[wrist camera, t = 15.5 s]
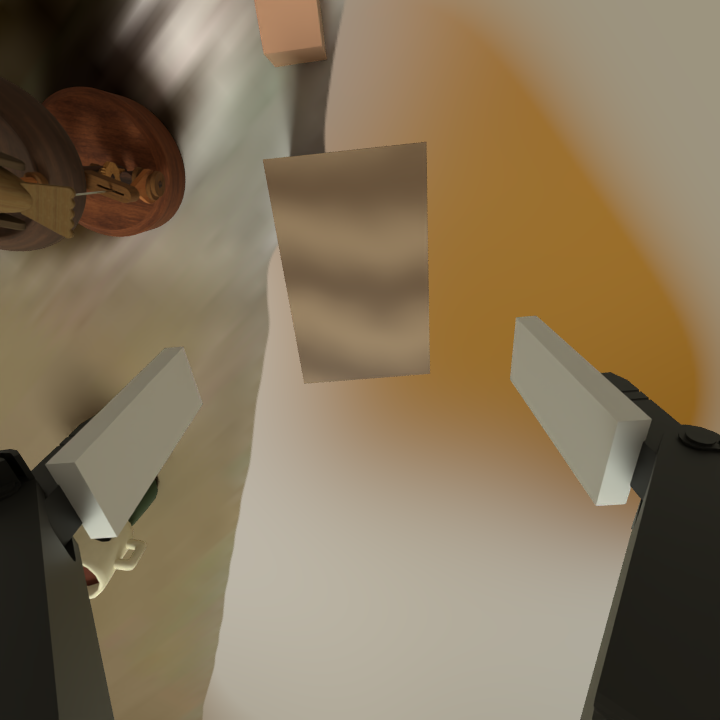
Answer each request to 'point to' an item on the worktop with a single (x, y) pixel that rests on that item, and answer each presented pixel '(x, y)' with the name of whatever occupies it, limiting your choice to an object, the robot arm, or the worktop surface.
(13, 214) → the music box
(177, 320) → the worktop surface
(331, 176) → the brown wooden block
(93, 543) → the character mug
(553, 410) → the robot arm
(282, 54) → the terracotta block
